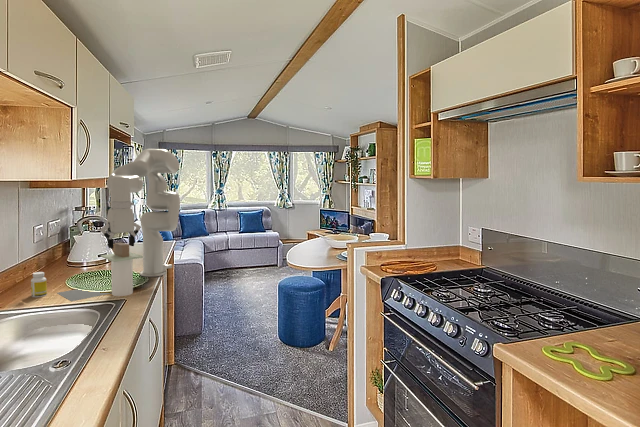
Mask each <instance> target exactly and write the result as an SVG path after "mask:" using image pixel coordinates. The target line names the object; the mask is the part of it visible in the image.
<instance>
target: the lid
mask: <svg viewBox="0 0 640 427" xmlns="http://www.w3.org/2000/svg"><path fill="white" fill-rule="evenodd" d="M113 246H114V248H113V250H114V252H113V253H110V254H107V253H106V254H101V255H100V258H102V259H105V260H108V261H110V262H111V261H113V262H117V261H123V260H130V259H132V260H136V259H143V255H141V254H138V253H134V252H132V251H130V245H129V243H125V242H115V243H114V242H113Z"/></svg>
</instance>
